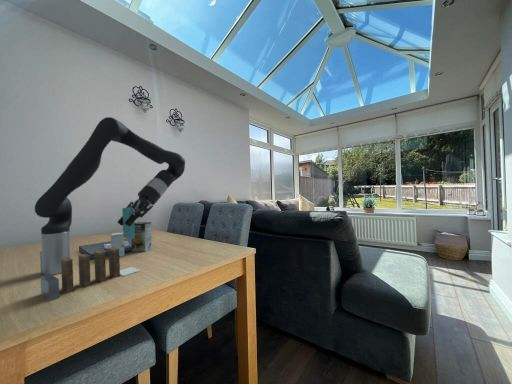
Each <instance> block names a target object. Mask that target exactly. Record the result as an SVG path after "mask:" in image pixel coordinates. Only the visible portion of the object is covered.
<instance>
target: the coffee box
mask: <svg viewBox="0 0 512 384" xmlns="http://www.w3.org/2000/svg"><path fill="white" fill-rule="evenodd" d="M134 226H135V238H130V241H131V252H148V251H150V250H152V249H153V238H152V237H153V235H152V222H149V221H146V222H145V221H138V222H134ZM132 247H133V248H132Z"/></svg>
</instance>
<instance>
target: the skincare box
mask: <svg viewBox="0 0 512 384" xmlns="http://www.w3.org/2000/svg"><path fill="white" fill-rule="evenodd" d="M110 248H117V249H119V258H120V257H125V237H123V232H118V233H111V235H110Z"/></svg>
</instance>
